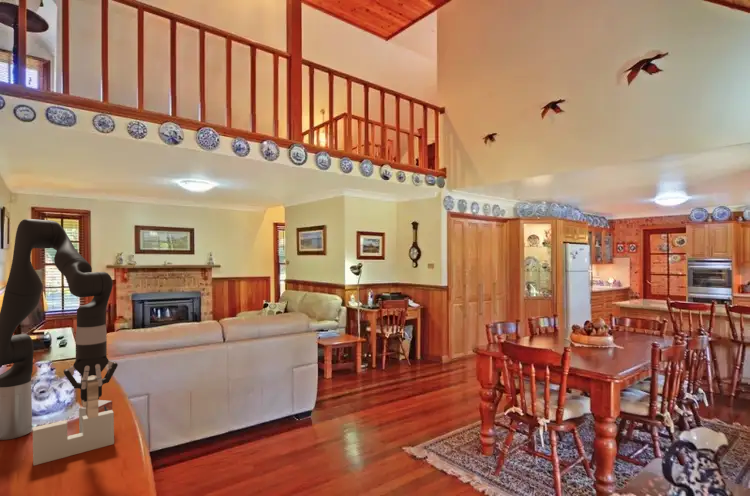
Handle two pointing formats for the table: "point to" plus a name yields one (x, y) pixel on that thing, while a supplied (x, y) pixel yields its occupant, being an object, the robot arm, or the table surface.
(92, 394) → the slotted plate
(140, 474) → the table surface
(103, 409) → the small box
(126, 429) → the table surface
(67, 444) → the notched board
